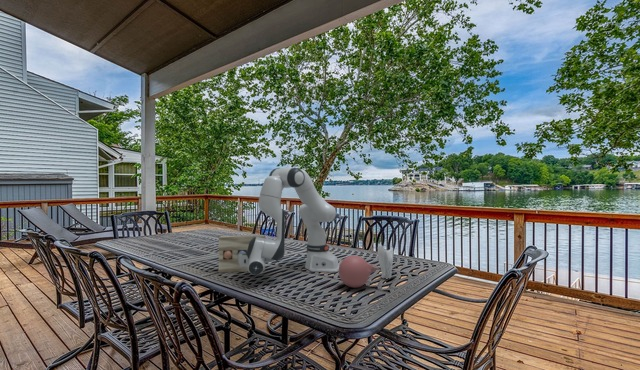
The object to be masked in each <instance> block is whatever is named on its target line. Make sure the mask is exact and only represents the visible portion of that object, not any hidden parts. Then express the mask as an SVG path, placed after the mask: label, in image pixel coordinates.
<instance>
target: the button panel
mask: <svg viewBox="0 0 640 370" xmlns="http://www.w3.org/2000/svg"><path fill="white" fill-rule="evenodd" d="M254 237H261V238H266V234H254V235H252V234H251V235H221V236H219V237H218V274H225V273H226V274H227V272H228V273H243V272H246V273H247V271H248V268H246V267H240V264H239V263H238V253H239V251H241V250H244V251H246V254H247V250H248V246H249V243H250V241H251V240H252V239H253V238H254ZM230 250H231V251H232V256H231V258H230V259H225V258H224V253H225V251H230ZM265 271H266V267H265V268H264V270H263V272H265ZM248 272H249V271H248Z"/></svg>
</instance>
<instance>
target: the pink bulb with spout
mask: <svg viewBox="0 0 640 370" xmlns="http://www.w3.org/2000/svg"><path fill="white" fill-rule="evenodd" d="M339 265H340V266H339V271H338V277H339V278H340V281H341V282H342V283H343V284H344V285H345V286H347V287H349V288H354V289H355V288H356V289H357V288H361V287H363V286H365V284H366V283H367V282H368V281H369V279H370V276H371V274H372V273H376V271H379V270H380V266H379V267H378V266H376V264H374V263H373V264H371V263H368V262H367V260H366V259H365V258H363V257H361V256H359V255H355V254H354V255H353V254H352V255H349V256H347V257H344V258H343V259H342V260H341V262H340V263H339Z"/></svg>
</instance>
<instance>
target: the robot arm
mask: <svg viewBox="0 0 640 370" xmlns="http://www.w3.org/2000/svg"><path fill="white" fill-rule="evenodd" d="M285 188H286V189H287V188H294V190H295V193H296V194H297V196H298V198H299V200H300V202H301V203H302V204H301V205H300V206H299V208H298V216H299V218H300V219H301V220H302V221H303V223H304V225H305V227H306V233H307V244H306V260H305V264H304V265H305V266H304V268H305V269H307V270H309V272H320V273H321V272H323V273H337V272H338V273H339V266H340V263H339V260H338V257H337V256H336V255H335V254H334V253H332V252H331V251H330V245H328V244H327V243H326V242H327V241H326V240H327V238H326V237H327V236H326V235H327V234H326V229H324V228H323V227H322V225H321V224H320V223H331V222H333V220H335V219H336V215H337V211H336V209H335V207H334V205H331V204H330V203H328V202H327V201H326V200H325V199H324V198H323V197H322V196H321V195H320V193H319V192H318V190H317V189H316V187H315V184H314V182H313V180H312V178H311V177H310V175H309V173H307V171H306V170H305V169H302V168H298V167H289V166H288V167H287V166H286V167H276V168H274V169H272V170H271V171H270V173H269V175H268V176H266V177H265V179H264V181H263V183H262V186H261V189H260V193H259V196H258V207H259V208H260V210H261V211H262V212H263V214H265V215H267V216H269V217H271V218H272V219H273V220H274V221H275V222H276V239H271V238H270V239H269V238H266V237H265V238H261V237H254V238H253V239H252V240H251V241H250V243H249V246H248V250H247V254H238V263H239V264H240V267H246V268H248V273H249V274H251V276H252V275H253V276H258V275H260V274H263V272H264V271H263V270H264V268H265V269H266V263H271V262H275V261H276V262H279V260H282V259H284V257H285V254H286V245H285V244H286V243H285V239H286V238H285V237H286V233H285V232H286V212H285V210H284V209H283V208H282V206H281V205H282V204H281V199H282V195H283V190H284V189H285Z"/></svg>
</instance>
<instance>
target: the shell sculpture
mask: <svg viewBox="0 0 640 370" xmlns="http://www.w3.org/2000/svg"><path fill="white" fill-rule="evenodd" d="M377 259H378V265H379V269H380V271H381V277H380V278H382V279H384V278H389V279H388V280H390V279H391V278H392V273H393V272H392V271H393V270H392V269H393V262H394V247H391V248H390V249H385V247H384V246H383V245H382V244H380V245H378V246H377ZM386 276H387V277H386Z"/></svg>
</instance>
